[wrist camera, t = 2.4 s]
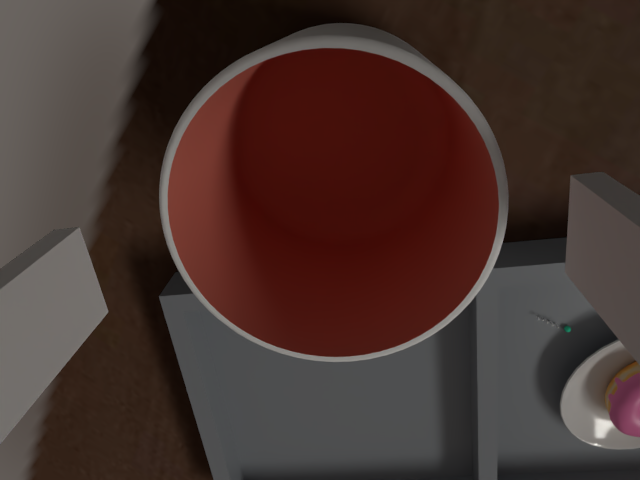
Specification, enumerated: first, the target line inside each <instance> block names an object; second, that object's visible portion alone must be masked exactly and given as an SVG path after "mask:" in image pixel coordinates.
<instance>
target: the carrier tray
mask: <svg viewBox="0 0 640 480" xmlns="http://www.w3.org/2000/svg"><path fill="white" fill-rule="evenodd" d="M566 245H567V237H565V238H554V239H543V240H531V241H520V242H509V243H502V246H501V249H500V253H499V255H498V258H497V260H496V263H495V265H494V267H493V269H492V271H491V273H490V275H489V277H488V279H487V280H486V282H485V283H484V285H483V286H482V288H481V289H480V291H479V292H478V293H477V295H476V296H475V297H474V298H473V300H472V301H471V302H470V303H469V304H468V306H467V307H466V308H465V309H464V310H463V311H462V312H461V313H460V314H459V315H458V316H457V317H455V318H454V319H453V320H452V321H451V322H450V323H448V324H447V325H446V326H445V327H443V328H442V329H440V330H439V331H438V332H436V333H435V334H433V335H431V336H430V337H428V338H426V339H424V340H423V341H421V342H419V343H417V344H415V345H412V346H410V347H408V348H406V349H404V350H401V351H398V352H395V353H392V354H389V355H385V356H381V357H377V358H372V359H367V360H359V361H351V362H326V361H313V360H307V359H301V358H296V357H292V356H289V355H285V354H281V353H278V352H275V351H273V350H270V349H267V348H265V347H262V346H260V345H258V344H256V343H254V342H252V341H250V340H248V339H246V338H245V337H243V336H241V335H239V334H238V333H236V332H235V331H234V330H232V329H231V328H229V327H228V326H227V325H225V324H224V323H223V322H221V321H220V320H219V319H217V318H216V317H215V316H214V315H213V314H212V313H211V312H210V311H209V310H208V309H207V308H206V307H205V306H204V305H203V304H202V303H201V302H200V301H199V300H198V298H197V297H196V296H195V295H194V294H193V292H192V291H191V290H190V288H189V287H188V285H187V284H186V282H185V281H184V279H183V278H182V276H181V274H180V272H175V274H174V275H173V276H172V278H171V279H170V281H169V282H168V284H167V285H166V287H165V288H164V290H163V291H162V293H161V294H160V295H159V299H160V302H161V306H162V309H163V312H164V316H165V319H166V322H167V326H168V329H169V332H170V336H171V339H172V342H173V346H174V349H175V352H176V356H177V359H178V362H179V366H180V369H181V372H182V376H183V379H184V382H185V386H186V389H187V392H188V396H189V399H190V402H191V406H192V409H193V412H194V416H195V419H196V422H197V426H198V429H199V432H200V436H201V439H202V442H203V446H204V449H205V452H206V456H207V459H208V462H209V466H210V469H211V472H212V476H213V479H214V480H640V448H635V449H620V450H617V449H606V448H601V447H597V446H593V445H590V444H588V443H586V442H584V441H581V440H580V439H578V438H577V437H576V436H574V435H573V434H572V433H571V432H570V431H569V430H568V428H567V427H566V426H565V425H564V422H563V420H562V417H561V415H560V399H561V394H562V391H563V388H564V386H565V384H566V382H567V380H568V378H569V377H570V376H571V374H572V373H573V372H574V370H575V369H576V368H577V367H578V366H579V365H580V364H581V363H582V362H583V361H584V360H585V359H586V358H587V357H589V356H590V355H592V354H593V353H594V352H596V351H597V350H599V349H600V348H602V347H604V346H606V345H608V344H610V343H612V342H614V341H616V340H618V338H617V337H616V335H615V334H614V333H613V332H612V330H611V329H610V328H609V327H608V325H607V324H606V323H605V322H604V321H603V319H602V318H601V317H600V316H599V314H598V313H597V312H596V311H595V309H594V308H593V307H592V306H591V304H590V303H589V302H588V301H587V299H586V298H585V297H584V296H583V294H582V293H581V292H580V291H579V289H578V288H577V287H576V286H575V284H574V283H573V282H572V281H571V280H570V278H569V277H568V276H567V275H566V273H565V262H566ZM536 316H538V317H539V319H540V320H538V319H537V317H536ZM541 318H543V319H544V321H542V319H541ZM545 319H547V321H548V324H547V323H546V321H545ZM549 321H551V322H552V324H553V325H554V326H552V325H551V324H550V322H549ZM554 323H556V324H557V325H558V327H559V328H557V327H556V326H555V324H554ZM565 326H570V327H571V331H570V332H565V331H564V327H565Z"/></svg>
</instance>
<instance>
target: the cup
mask: <svg viewBox="0 0 640 480" xmlns="http://www.w3.org/2000/svg"><path fill="white" fill-rule="evenodd" d="M159 205H160V216H161V222H162V227H163V232H164V235H165V239H166V243H167V245H168V248H169V251H170V254H171V256H172V258H173V260H174V263H175V265H176V267H177V269H178V271H179V272H180V274H181V276H182V278H183V279H184V281H185V282H186V284H187V285H188V287H189V288H190V290H191V291H192V292H193V294H194V295H195V296H196V297H197V298H198V300H199V301H200V302H201V303H202V304H203V305H204V306H205V307H206V308H207V309H208V310H209V311H210V312H211V313H212V314H213V315H214V316H215V317H216V318H217V319H219V320H220V321H221V322H223V323H224V324H225V325H227V326H228V327H229V328H231V329H232V330H234V331H235V332H236V333H238V334H239V335H241V336H243V337H245V338H246V339H248V340H250V341H252V342H254V343H256V344H258V345H260V346H262V347H265V348H267V349H270V350H273V351H275V352H278V353H281V354H285V355H289V356H292V357H296V358H301V359H307V360H313V361H326V362H351V361H359V360H367V359H372V358H377V357H381V356H385V355H389V354H392V353H395V352H398V351H401V350H404V349H406V348H408V347H410V346H412V345H415V344H417V343H419V342H421V341H423V340H424V339H426V338H428V337H430V336H431V335H433V334H435V333H436V332H438V331H439V330H440V329H442V328H443V327H445V326H446V325H447V324H448V323H450V322H451V321H452V320H453V319H454V318H455V317H457V316H458V315H459V314H460V313H461V312H462V311H463V310H464V309H465V308H466V307H467V306H468V304H469V303H470V302H471V301H472V300H473V298H474V297H475V296H476V295H477V293H478V292H479V291H480V289H481V288H482V286H483V285H484V283H485V282H486V280H487V279H488V277H489V275H490V273H491V271H492V269H493V267H494V265H495V263H496V260H497V258H498V255H499V253H500V249H501V246H502V243H503V240H504V235H505V230H506V226H507V217H508V185H507V177H506V171H505V166H504V162H503V159H502V155H501V152H500V149H499V146H498V144H497V141H496V139H495V136H494V134H493V132H492V130H491V128H490V127H489V125H488V123H487V121H486V119H485V118H484V116H483V115H482V113H481V112H480V110H479V109H478V107H477V106H476V105H475V103H474V102H473V101H472V100H471V98H470V97H469V96H468V95H467V94H466V93H465V92H464V91H463V90H462V88H461V87H459V86H458V85H457V84H456V83H455V82H454V81H453V80H452V79H451V78H450V77H449V76H447V75H446V74H445V73H444V72H443V71H441V70H440V69H439V68H438V67H436V66H435V65H434V64H433V63H432V62H430V61H429V60H428V59H427V58H425V57H424V56H423V55H422V54H421V53H419V52H418V51H417V50H416V49H414V48H413V47H412V46H410V45H409V44H408V43H406V42H405V41H403V40H401V39H400V38H398V37H396V36H394V35H392V34H390V33H388V32H385V31H383V30H380V29H377V28H374V27H370V26H366V25H360V24H353V23H332V24H323V25H318V26H313V27H309V28H307V29H304V30H301V31H298V32H296V33H293V34H291V35H289V36H287V37H285V38H282V39H280V40H278V41H276V42H274V43H271V44H269V45H267V46H265V47H263V48H261V49H258V50H256V51H254V52H252V53H250V54H248V55H246V56H244V57H242V58H240V59H239V60H237V61H235V62H234V63H232V64H231V65H229V66H228V67H226V68H225V69H224V70H222V71H221V72H220V73H219V74H217V75H216V76H215V77H214V78H213V79H212V80H211V81H209V82H208V83H207V84H206V85H205V86H204V87H203V88H202V89H201V91H200V92H199V93H198V94H197V95H196V96H195V97H194V99H193V100H192V101H191V103H190V104H189V105H188V107H187V108H186V110H185V111H184V113H183V114H182V116H181V118H180V120H179V121H178V123H177V125H176V127H175V129H174V131H173V133H172V136H171V138H170V141H169V143H168V146H167V149H166V152H165V156H164V159H163V164H162V170H161V176H160V186H159Z"/></svg>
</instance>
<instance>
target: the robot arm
mask: <svg viewBox="0 0 640 480" xmlns="http://www.w3.org/2000/svg"><path fill="white" fill-rule="evenodd" d="M565 273H566V275H567V276H568V277H569V278H570V280H571V281H572V282H573V283H574V284H575V286H576V287H577V288H578V289H579V291H580V292H581V293H582V294H583V296H584V297H585V298H586V299H587V301H588V302H589V303H590V304H591V306H592V307H593V308H594V309H595V311H596V312H597V313H598V314H599V316H600V317H601V318H602V319H603V321H604V322H605V323H606V324H607V325H608V327H609V328H610V329H611V330H612V332H613V333H614V334H615V335H616V337H617V338H618V339H619V340H620V342H621V343H622V344H623V345H624V347H625V348H626V349H627V350H628V352H629V353H630V354H631V355H632V357H633V358H634V359H635V360H636V362H637V363H638V364H639V365H640V196H639V195H638V194H636V193H635V192H633V191H632V190H630V189H629V188H627V187H625V186H624V185H622V184H621V183H619V182H618V181H616V180H615V179H613V178H612V177H610V176H608V175H607V174H605V173H604V172H596V173H587V174H577V175H571V179H570V196H569V212H568V229H567V245H566V262H565ZM107 313H108V309H107V306H106V303H105V300H104V297H103V295H102V292H101V289H100V286H99V283H98V280H97V277H96V274H95V271H94V268H93V265H92V262H91V259H90V256H89V254H88V251H87V248H86V245H85V242H84V239H83V236H82V233H81V230H80V227H76V228H67V229H59V230H53V231H52V232H50V233H49V234H48V235H46V236H45V237H43V238H42V239H41V240H39V241H38V242H36V243H35V244H34V245H32V246H31V247H30V248H28V249H27V250H25V251H24V252H23V253H21V254H20V255H19V256H18V257H16V258H15V259H13V260H12V261H10V262H9V263H8V264H6V265H5V266H4V267H2V268H1V269H0V444H1V443H2V441H3V440H4V439H5V438H6V436H7V435H8V434H9V433H10V432H11V430H12V429H13V428H14V427H15V425H16V424H17V423H18V422H19V421H20V419H21V418H22V417H23V416H24V414H25V413H26V412H27V411H28V410H29V408H30V407H31V406H32V405H33V403H34V402H35V401H36V400H37V399H38V397H39V396H40V395H41V394H42V392H43V391H44V390H45V389H46V388H47V386H48V385H49V384H50V383H51V381H52V380H53V379H54V378H55V377H56V375H57V374H58V373H59V372H60V370H61V369H62V368H63V367H64V366H65V364H66V363H67V362H68V361H69V359H70V358H71V357H72V356H73V355H74V353H75V352H76V351H77V350H78V348H79V347H80V346H81V345H82V344H83V342H84V341H85V340H86V339H87V337H88V336H89V335H90V334H91V333H92V331H93V330H94V329H95V328H96V326H97V325H98V324H99V323H100V322H101V320H102V319H103V318H104V317H105V315H106V314H107Z"/></svg>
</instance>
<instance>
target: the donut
mask: <svg viewBox="0 0 640 480" xmlns="http://www.w3.org/2000/svg"><path fill="white" fill-rule="evenodd" d="M536 317H537V319H538V320H540V319H539V317H538V316H536ZM541 319H542V321H544V319H543V318H541ZM545 321H546V323H547V324H548V321H547V319H545ZM549 322H550V324H551V325H552V326H554V325H553V324H552V322H551V321H549ZM554 324H555V326H556V327H557V328H559V327H558V325H557V324H556V323H554ZM564 331H565V332H570V331H571V327H570V326H565V327H564ZM560 415H561V417H562V420H563V422H564V425H565V426H566V427H567V428H568V430H569V431H570V432H571V433H572V434H573V435H574V436H576V437H577V438H578V439H580V440H581V441H584V442H586V443H588V444H590V445H593V446H597V447H601V448H606V449H617V450H620V449H635V448H640V365H639V364H638V363H637V362H636V360H635V359H634V358H633V357H632V355H631V354H630V353H629V352H628V350H627V349H626V348H625V347H624V345H623V344H622V343H621V342H620V340H619V339H618V340H616V341H614V342H612V343H610V344H608V345H606V346H604V347H602V348H600V349H599V350H597V351H596V352H594V353H593V354H592V355H590V356H589V357H587V358H586V359H585V360H584V361H583V362H582V363H581V364H580V365H579V366H578V367H577V368H576V369H575V370H574V372H573V373H572V374H571V376H570V377H569V378H568V380H567V382H566V384H565V386H564V388H563V391H562V394H561V399H560Z"/></svg>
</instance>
